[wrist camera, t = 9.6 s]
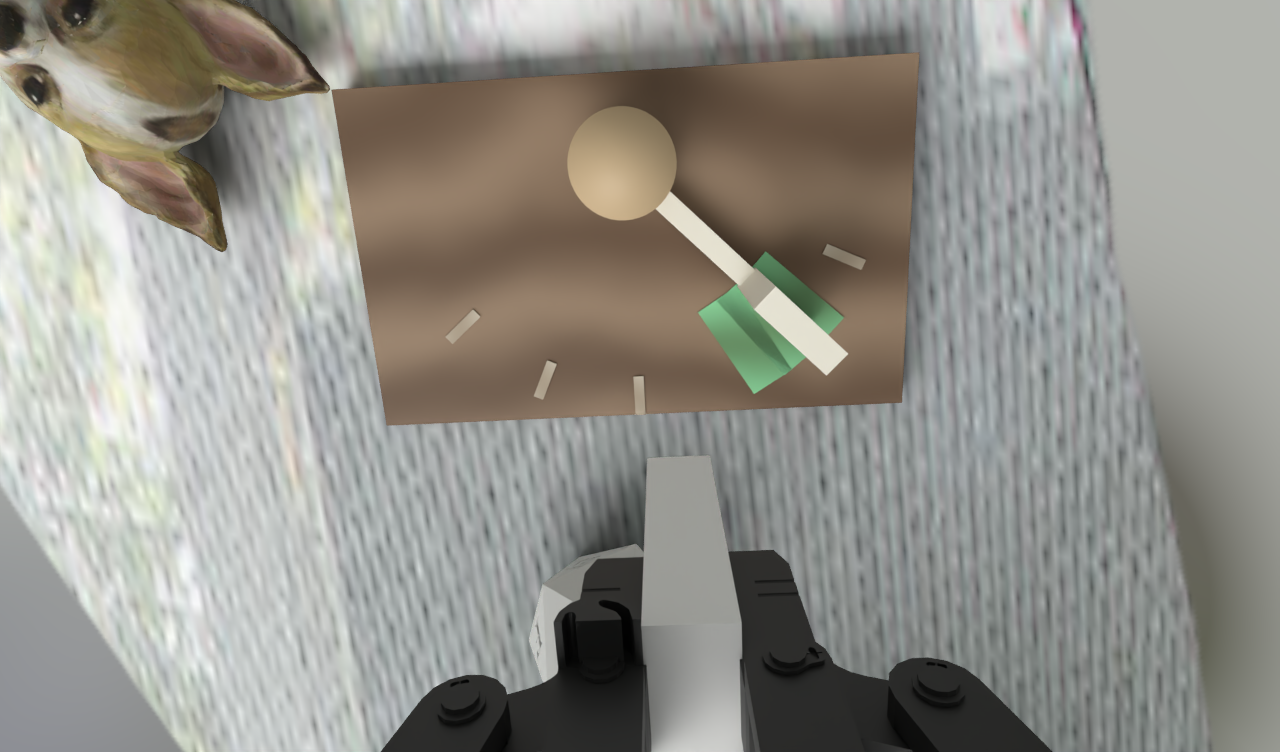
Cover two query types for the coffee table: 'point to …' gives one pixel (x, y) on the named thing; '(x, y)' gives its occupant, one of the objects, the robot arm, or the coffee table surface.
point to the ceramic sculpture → (148, 88)
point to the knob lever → (675, 213)
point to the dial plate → (632, 241)
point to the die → (563, 605)
